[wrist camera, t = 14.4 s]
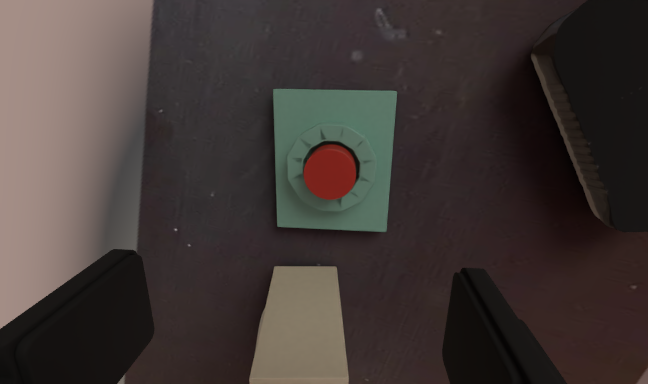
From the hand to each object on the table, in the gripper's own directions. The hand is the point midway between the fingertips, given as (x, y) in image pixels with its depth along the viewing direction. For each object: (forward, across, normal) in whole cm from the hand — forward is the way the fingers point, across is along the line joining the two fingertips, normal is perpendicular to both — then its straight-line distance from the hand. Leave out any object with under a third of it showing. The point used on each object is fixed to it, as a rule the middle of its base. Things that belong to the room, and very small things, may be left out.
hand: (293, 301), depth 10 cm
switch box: (+19, 0, 0) cm, 19 cm away
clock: (+10, -1, +15) cm, 18 cm away
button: (+16, 0, 0) cm, 16 cm away
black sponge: (+19, -20, -4) cm, 28 cm away
